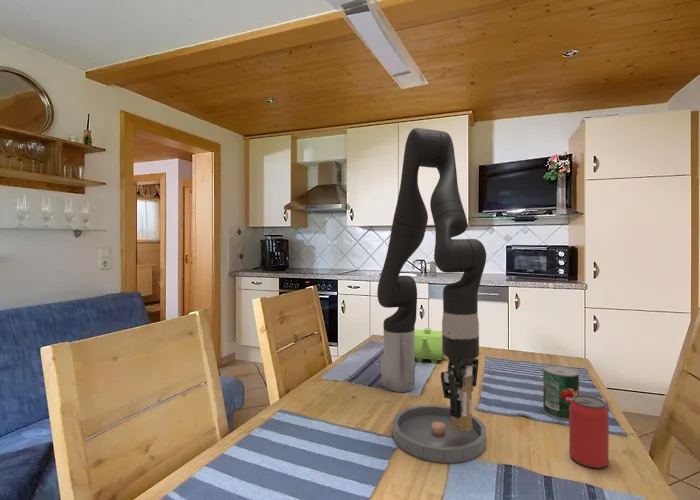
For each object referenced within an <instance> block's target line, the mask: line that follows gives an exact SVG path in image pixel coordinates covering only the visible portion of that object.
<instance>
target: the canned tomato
mask: <svg viewBox="0 0 700 500" xmlns="http://www.w3.org/2000/svg"><path fill="white" fill-rule="evenodd" d="M542 374H543V385H542V386H543V401H542V402H543V408H542V410H543V413H544V414H546V415H547V416H549V417H551V418H554V419H558V420H562V421H569V408H570V404H571V402H572V400H573V399H572V398H573V396H576V395H580V392H579V391H580V372H579V370H577V369H575V368H573V367H570V366H567V365H566V366H565V365H560V364H547V365H545V366H543V373H542Z"/></svg>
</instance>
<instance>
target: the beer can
mask: <svg viewBox="0 0 700 500" xmlns="http://www.w3.org/2000/svg"><path fill="white" fill-rule="evenodd" d="M572 399H573V400H572V402H571V404H570V408H569V420H568V421H569V422H568V423H569V424H568V425H569V426H568V427H569V435H568V437H569V439H568V441H569V442H568V443H569V445H568V448H569V449H568V450H569V456H570V457H571V458H572V459H573V460H574V462H575V461H576V462H577V463H578V464H580V465H582V466H585V467H588V468H592V469H601V468H605V467H606V466H608V464H609V454H610V453H609V452H610V451H609V449H610V448H609V440H610V439H609V438H610V435H609V434H610V432H609V429H610V427H609V426H610V425H609V424H610V423H609V422H610V421H609V420H610V419H609V418H610V416H609V412H608V409H607V407H606V404H607V403H606V402H605V401H604V400H603V399H601V398H599V397H596V396H592V395H589V394H588V395H586V394H579V395H576V396H573V398H572Z"/></svg>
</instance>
